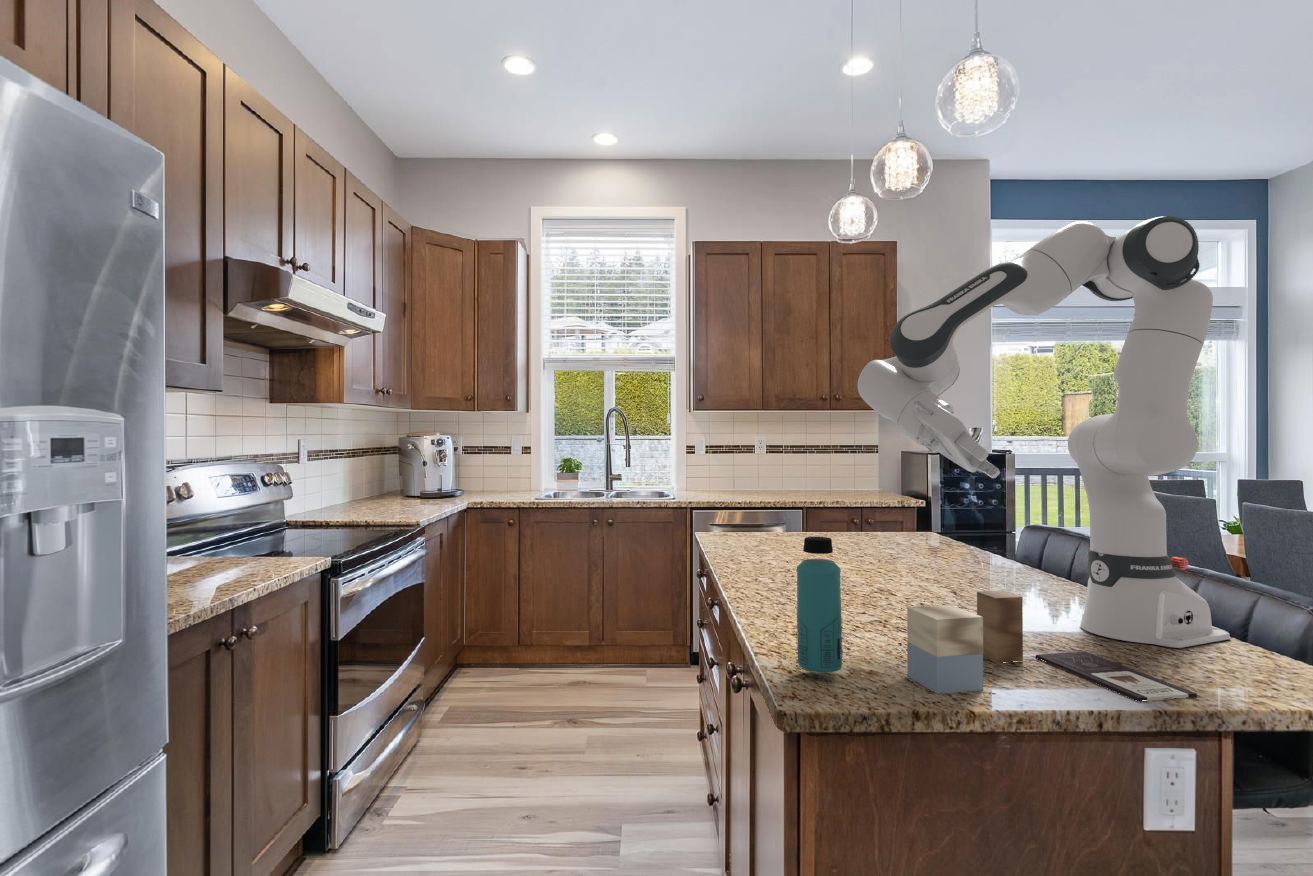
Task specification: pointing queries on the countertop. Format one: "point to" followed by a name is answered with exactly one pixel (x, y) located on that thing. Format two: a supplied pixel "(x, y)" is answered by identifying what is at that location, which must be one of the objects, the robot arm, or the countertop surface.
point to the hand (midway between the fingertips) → (991, 466)
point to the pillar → (1001, 625)
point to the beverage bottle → (819, 610)
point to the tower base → (945, 671)
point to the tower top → (945, 630)
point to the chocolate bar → (1115, 676)
